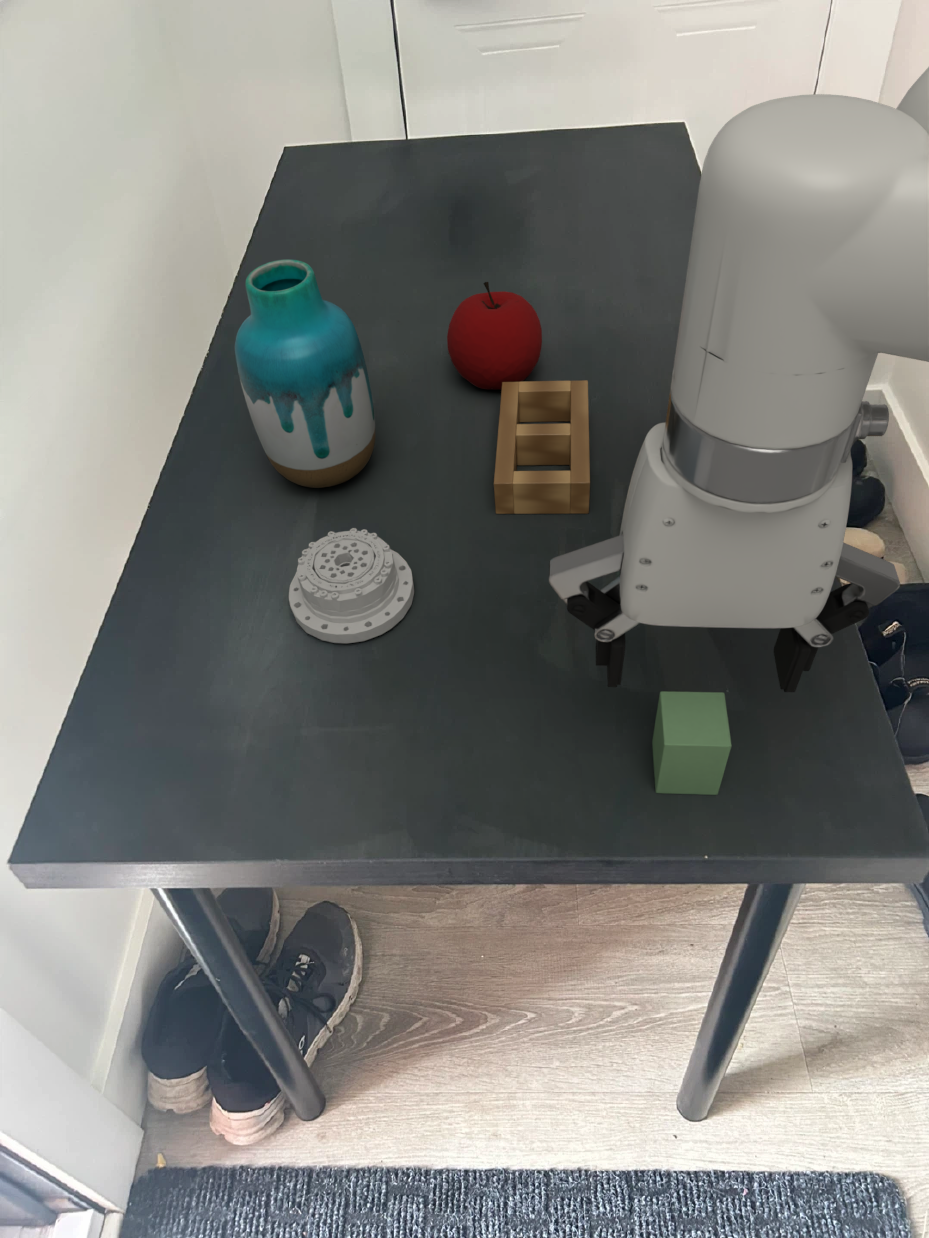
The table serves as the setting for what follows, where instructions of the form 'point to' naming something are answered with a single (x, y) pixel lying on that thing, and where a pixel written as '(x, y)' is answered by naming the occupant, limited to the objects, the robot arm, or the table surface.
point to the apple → (494, 339)
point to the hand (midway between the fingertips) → (697, 669)
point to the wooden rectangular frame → (543, 448)
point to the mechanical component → (350, 587)
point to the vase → (304, 378)
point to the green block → (690, 742)
